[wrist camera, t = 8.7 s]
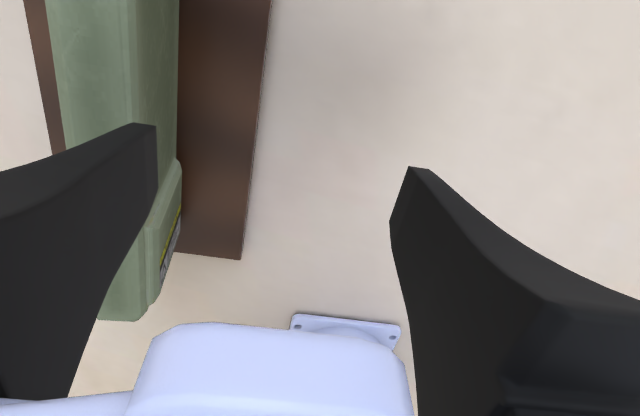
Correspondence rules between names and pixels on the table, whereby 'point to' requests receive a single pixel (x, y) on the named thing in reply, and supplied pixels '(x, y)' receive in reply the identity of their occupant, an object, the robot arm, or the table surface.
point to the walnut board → (197, 113)
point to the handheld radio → (124, 117)
